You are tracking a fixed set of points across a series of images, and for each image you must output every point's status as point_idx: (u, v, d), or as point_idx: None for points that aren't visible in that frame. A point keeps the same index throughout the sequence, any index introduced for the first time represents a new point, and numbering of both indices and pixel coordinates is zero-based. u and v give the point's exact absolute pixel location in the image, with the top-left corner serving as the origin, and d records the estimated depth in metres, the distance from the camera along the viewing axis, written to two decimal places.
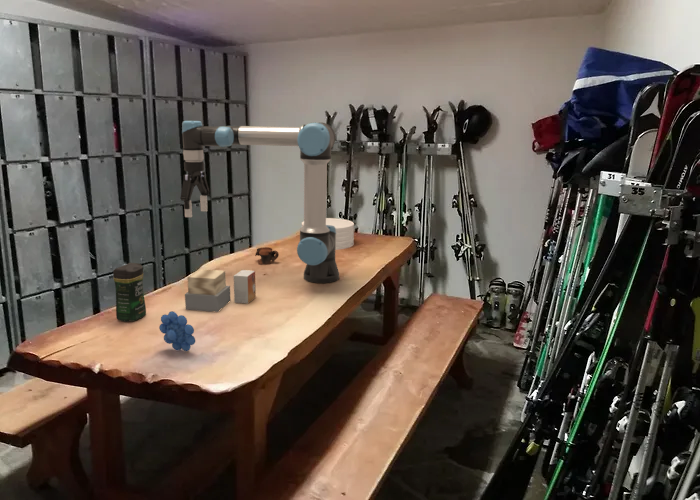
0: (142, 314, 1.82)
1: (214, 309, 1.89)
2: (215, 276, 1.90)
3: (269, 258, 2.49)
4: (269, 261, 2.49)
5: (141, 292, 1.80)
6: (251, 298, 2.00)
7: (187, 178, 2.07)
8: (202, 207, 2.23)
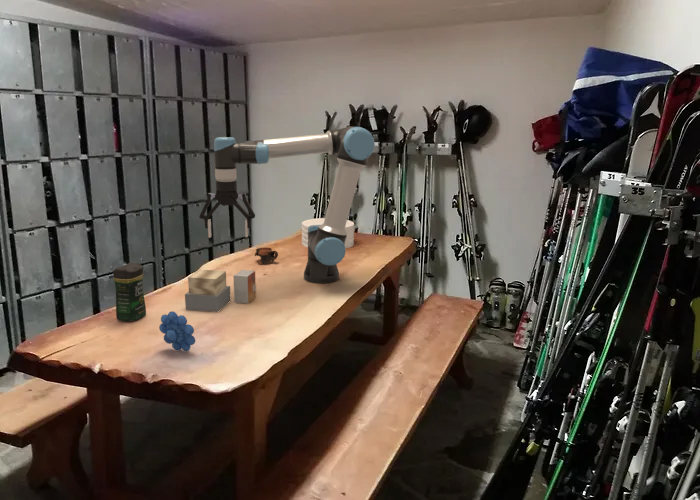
0: (142, 314, 1.82)
1: (214, 309, 1.89)
2: (216, 276, 1.90)
3: (268, 258, 2.49)
4: (268, 261, 2.49)
5: (141, 292, 1.80)
6: (251, 298, 2.00)
7: None
8: None
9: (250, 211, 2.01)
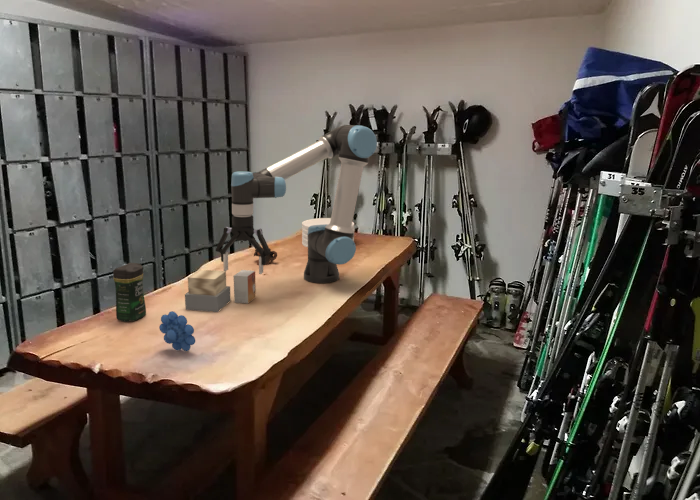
0: (142, 314, 1.82)
1: (214, 309, 1.89)
2: (215, 276, 1.90)
3: (267, 259, 2.48)
4: (268, 261, 2.48)
5: (141, 292, 1.80)
6: (251, 298, 2.00)
7: None
8: None
9: (264, 248, 1.94)
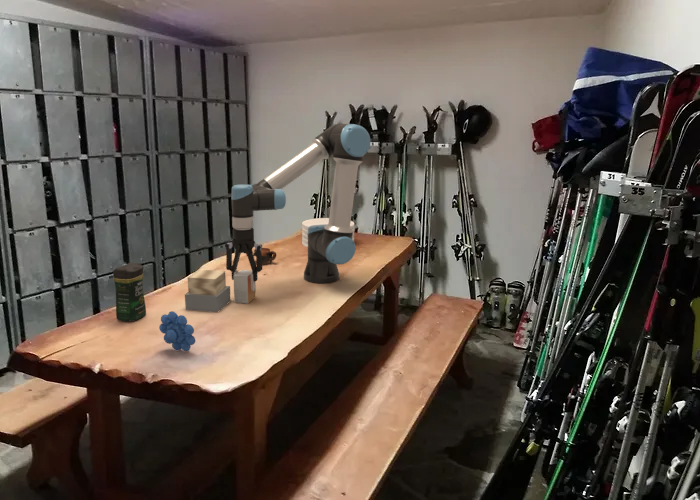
0: (142, 314, 1.82)
1: (214, 309, 1.89)
2: (215, 276, 1.90)
3: (267, 259, 2.48)
4: (267, 262, 2.48)
5: (141, 292, 1.80)
6: (251, 298, 2.00)
7: None
8: None
9: (258, 264, 1.96)
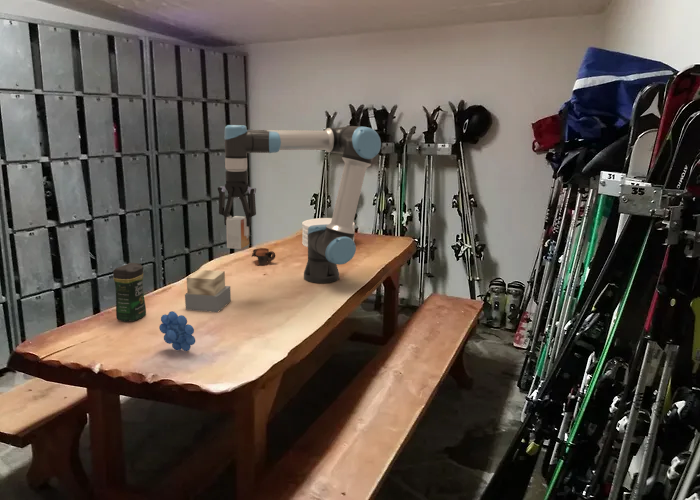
0: (142, 314, 1.82)
1: (214, 309, 1.89)
2: (214, 276, 1.90)
3: (265, 259, 2.47)
4: (266, 262, 2.47)
5: (141, 292, 1.80)
6: (244, 244, 1.94)
7: None
8: None
9: (251, 208, 1.90)
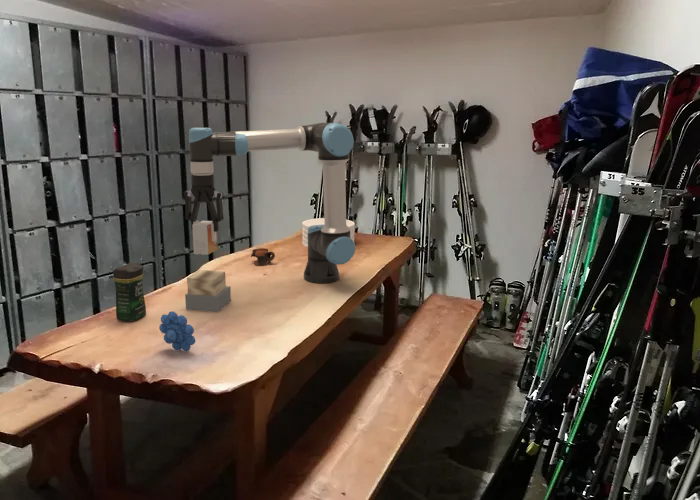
0: (142, 314, 1.82)
1: (214, 310, 1.89)
2: (215, 277, 1.90)
3: (265, 259, 2.47)
4: (265, 262, 2.47)
5: (141, 292, 1.80)
6: (212, 250, 1.89)
7: None
8: None
9: (218, 213, 1.85)
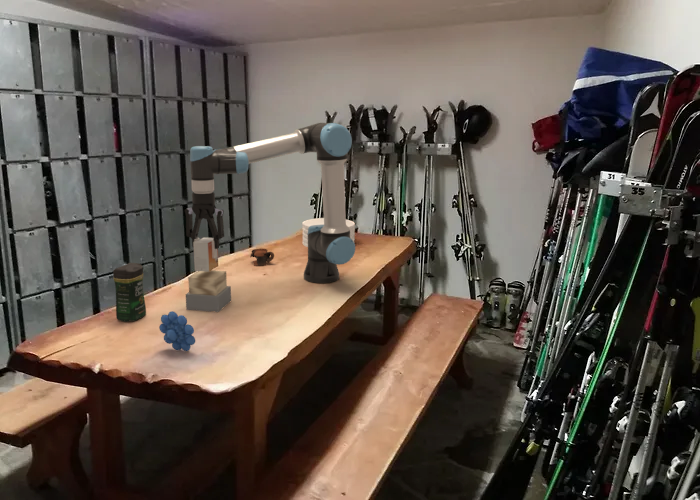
0: (142, 314, 1.82)
1: (215, 309, 1.89)
2: (216, 276, 1.90)
3: (264, 260, 2.47)
4: (264, 262, 2.47)
5: (141, 292, 1.80)
6: (213, 266, 1.91)
7: None
8: None
9: (219, 230, 1.87)
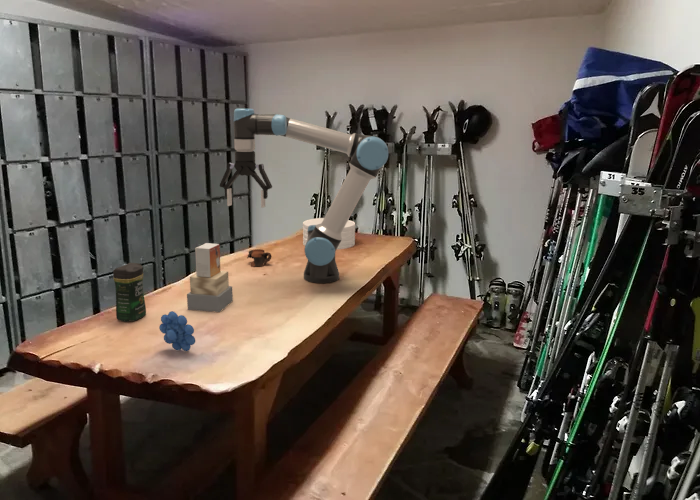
0: (142, 314, 1.82)
1: (216, 309, 1.89)
2: (217, 276, 1.90)
3: (262, 260, 2.45)
4: (262, 263, 2.45)
5: (141, 292, 1.80)
6: (214, 272, 1.91)
7: None
8: None
9: (266, 182, 2.04)
